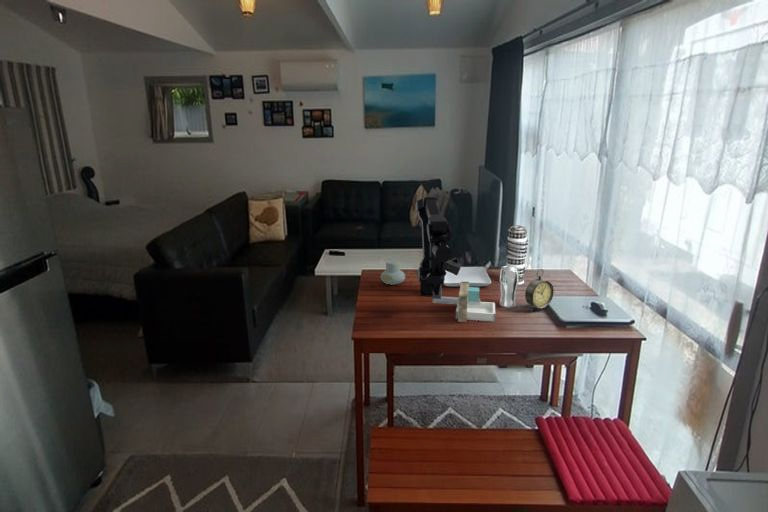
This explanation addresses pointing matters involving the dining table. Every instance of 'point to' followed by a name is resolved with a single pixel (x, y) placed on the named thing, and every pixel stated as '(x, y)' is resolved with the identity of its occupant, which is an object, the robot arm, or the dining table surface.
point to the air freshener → (392, 273)
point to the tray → (480, 312)
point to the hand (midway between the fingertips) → (437, 293)
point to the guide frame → (463, 302)
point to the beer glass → (508, 285)
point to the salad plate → (468, 277)
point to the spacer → (473, 294)
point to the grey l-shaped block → (450, 299)
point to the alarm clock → (539, 293)
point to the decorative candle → (517, 250)
